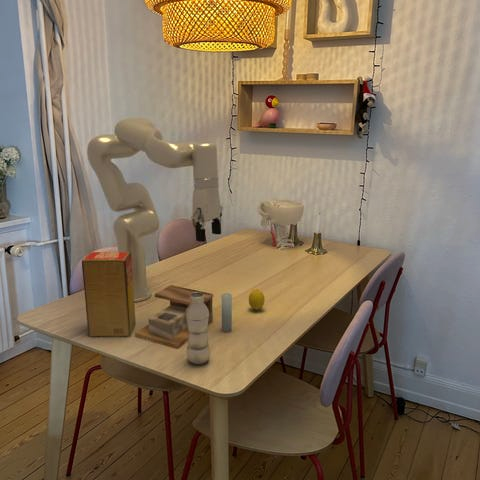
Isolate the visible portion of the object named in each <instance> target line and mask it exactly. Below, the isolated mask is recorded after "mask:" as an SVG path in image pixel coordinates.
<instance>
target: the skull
mask: <svg viewBox="0 0 480 480" xmlns="http://www.w3.org/2000/svg"><path fill="white" fill-rule="evenodd" d="M258 201H259V204H258V207H257V213H258V215H260V216H261V220H260V226H261V227H262V228H263V229H267V227H268V226H270V235H271V237H272V243H273V244H272V247H274V248H275V246H276V248H278V251H280V250H284V249H287V248H290V247H291V248H294V247H295V244H294V242H292V239H291V238H287V237H289V233H288V231H287V230H288V227H287V226H290V225H294V226H297V224H298V223H299V222H300V221H301V219H302V217H303V214H304V211H305V210H304V209H305V204H304V202H302V201H298V200H292V199H291V200H290V199H277V198H272V200H270V201H267V200H258Z"/></svg>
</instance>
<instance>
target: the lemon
mask: <svg viewBox="0 0 480 480" xmlns="http://www.w3.org/2000/svg"><path fill="white" fill-rule="evenodd" d="M265 300H266V299H265V294H264V292H263V291H262V290H260V289H258V288H256V289H254V290H251V292H250V293H249V295H248V305H249V306H250V307H251V308H252V309H253V310H255V311H258V310H261V309H262V308H263V306H264V305H265V302H266V301H265Z"/></svg>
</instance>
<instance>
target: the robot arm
mask: <svg viewBox="0 0 480 480" xmlns="http://www.w3.org/2000/svg"><path fill="white" fill-rule="evenodd" d="M217 148H218V147H217V145H216V144H215V143H214V142H197V141H196V142H195V141H182V142H167V141H165V140H163V134H162V132H161V131H160V130H159V129H158V128H156V126H155V124H154V123H153V121H151V120H150V119H147V118H139V117H138V118H124V119H121V120H119V121H118V122H117V123H116V124H115V126H114V133H113V134H102V135H97V136H95V137H93V138H92V139H91V140H90V141H89V142H88V144H87V149H86V150H87V151H86V152H87V153H86V155H87V159H88V160H87V161H88V163H89V165H90V166H91V168H92V170H93V172H94V174H95V175H96V177H97V179H98V181H99V184H100V188H101V189H102V192H103V195H104V197H105V200H106V202H107V204H108V207H109V209H111V211H113V212H117V213H118V212H119V213H120V212H126V211H130V210H133V211H132V212H129V213H124V214H121V215H120V216H118V217H116V219H115V221H114V222H113V224H112V225H113V226H112V227H113V228H112V229H113V233H114V236H115V240H116V246H117V252H131V258H132V274H133V291H134V303H137V302H138V303H139V302H143V301H146V300H148V299H149V298H150V297H151V296H152V290H151V289H150V288H148V283H147V281H148V280H147V266H146V263H147V262H146V251H145V246H144V245H143V243H142V242H141V240H140V239H142V238H143V237H147V236H150V235H153V234H155V233H156V232H157V231H158V230H159V227H160V220H159V216H158V213H157V211H156V208H155V205H154V203H153V200H152V198H151V196H150V193H149V191H148V189H147V188H146V187H145V185H143V184H142V183H140V182H128V183H127V182H126V179H125V178H124V175H123V172H122V171H121V169H120V168H119V167H118V166H117V165H116V164H115V163H114V162H113V161H112V160H113V159H114V160H115V159H124V158H125V159H126V158H131V157H133V156H134V155H137V154H138V153H140V151H141V152H144V153H145V155H146V156H147V158H148V159H149V160H150V161H151V162H152V163H155V164H156V165H159V166H161V167H164V168H168V169H178V168H185V167H192V172H193V175H192V177H193V192H192V215H191V218H190V219H191V222H192V225H193V228H194V230H195V240H196V242H202V243H205V242H206V241H207V239H206V237H207V236H206V234H207V233H206V228H205V226H206V223H209V222H210V221H211V223H210V224H211V233H212V235H221V234H222V223H221V222H222V216H223V209H224V207H223V206H222V205H221V197H220V191H219V172H218V171H219V169H218V167H219V166H218V149H217Z"/></svg>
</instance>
